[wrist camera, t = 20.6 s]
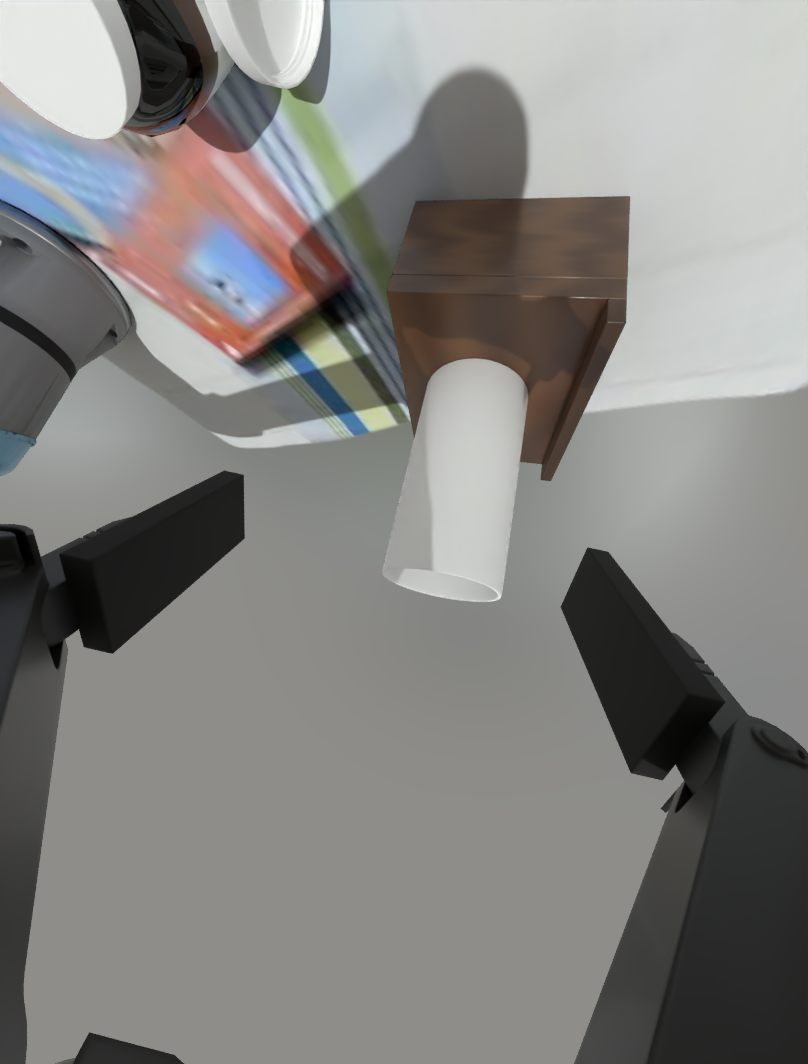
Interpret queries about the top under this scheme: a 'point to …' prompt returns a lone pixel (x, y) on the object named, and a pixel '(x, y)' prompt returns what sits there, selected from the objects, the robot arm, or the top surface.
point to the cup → (460, 484)
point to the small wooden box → (515, 301)
